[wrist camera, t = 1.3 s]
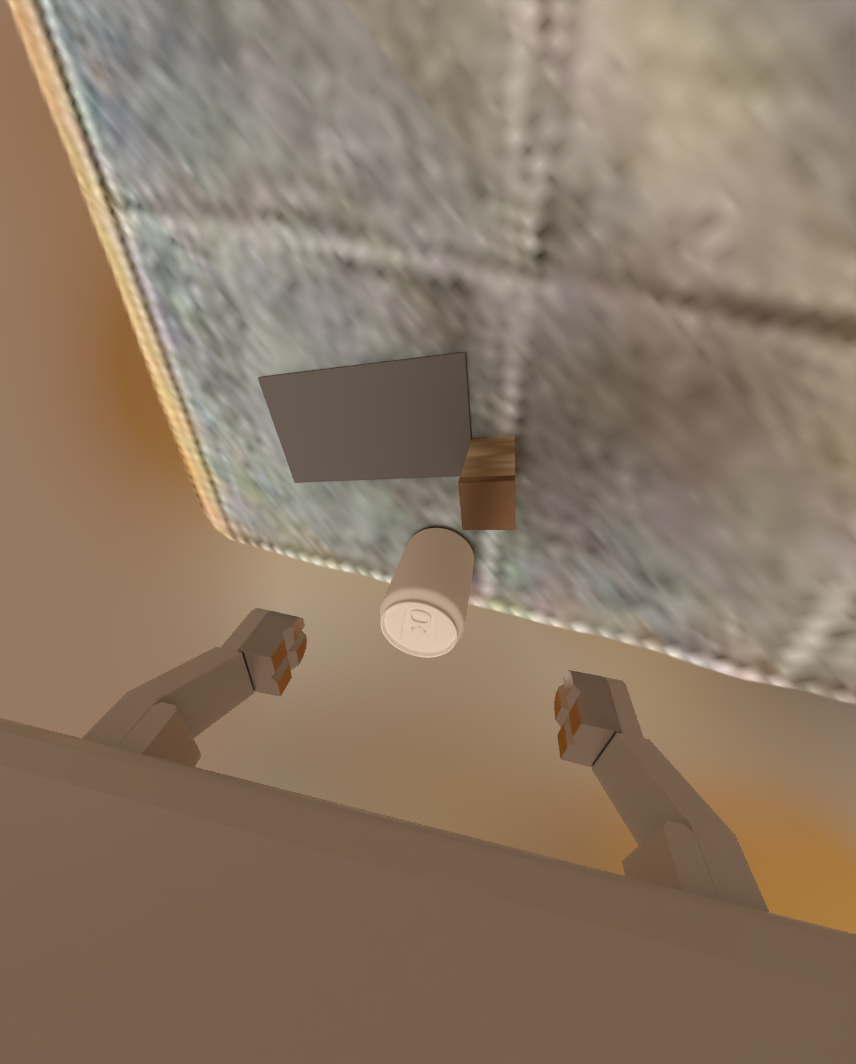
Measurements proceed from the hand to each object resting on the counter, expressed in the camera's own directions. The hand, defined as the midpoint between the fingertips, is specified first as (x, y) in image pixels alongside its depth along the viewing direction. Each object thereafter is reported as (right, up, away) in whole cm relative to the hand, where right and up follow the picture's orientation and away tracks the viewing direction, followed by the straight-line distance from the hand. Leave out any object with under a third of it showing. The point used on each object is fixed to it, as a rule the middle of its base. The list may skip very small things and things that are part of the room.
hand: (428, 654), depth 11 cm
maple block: (+6, +11, +24) cm, 27 cm away
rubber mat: (-6, +14, +24) cm, 29 cm away
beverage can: (+2, +1, +31) cm, 31 cm away
